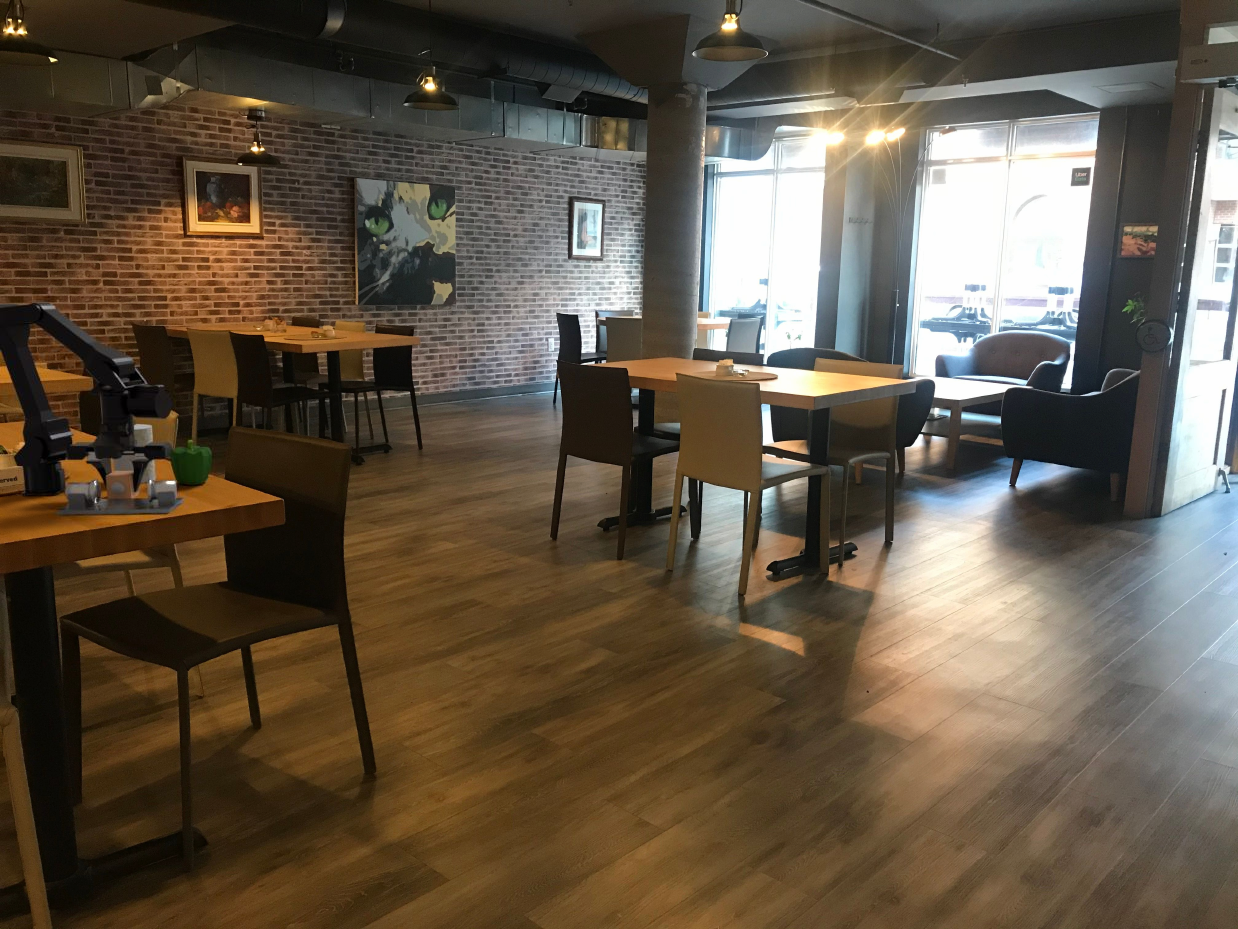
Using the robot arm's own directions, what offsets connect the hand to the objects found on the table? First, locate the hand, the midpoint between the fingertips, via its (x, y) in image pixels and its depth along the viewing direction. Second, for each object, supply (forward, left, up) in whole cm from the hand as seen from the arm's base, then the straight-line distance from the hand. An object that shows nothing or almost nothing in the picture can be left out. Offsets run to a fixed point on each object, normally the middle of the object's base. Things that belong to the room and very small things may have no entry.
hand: (123, 492), depth 199 cm
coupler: (0, 0, -1) cm, 1 cm away
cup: (-3, +17, -1) cm, 17 cm away
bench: (+3, -10, -1) cm, 10 cm away
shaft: (+10, -9, 0) cm, 14 cm away
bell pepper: (+10, +13, -1) cm, 16 cm away
